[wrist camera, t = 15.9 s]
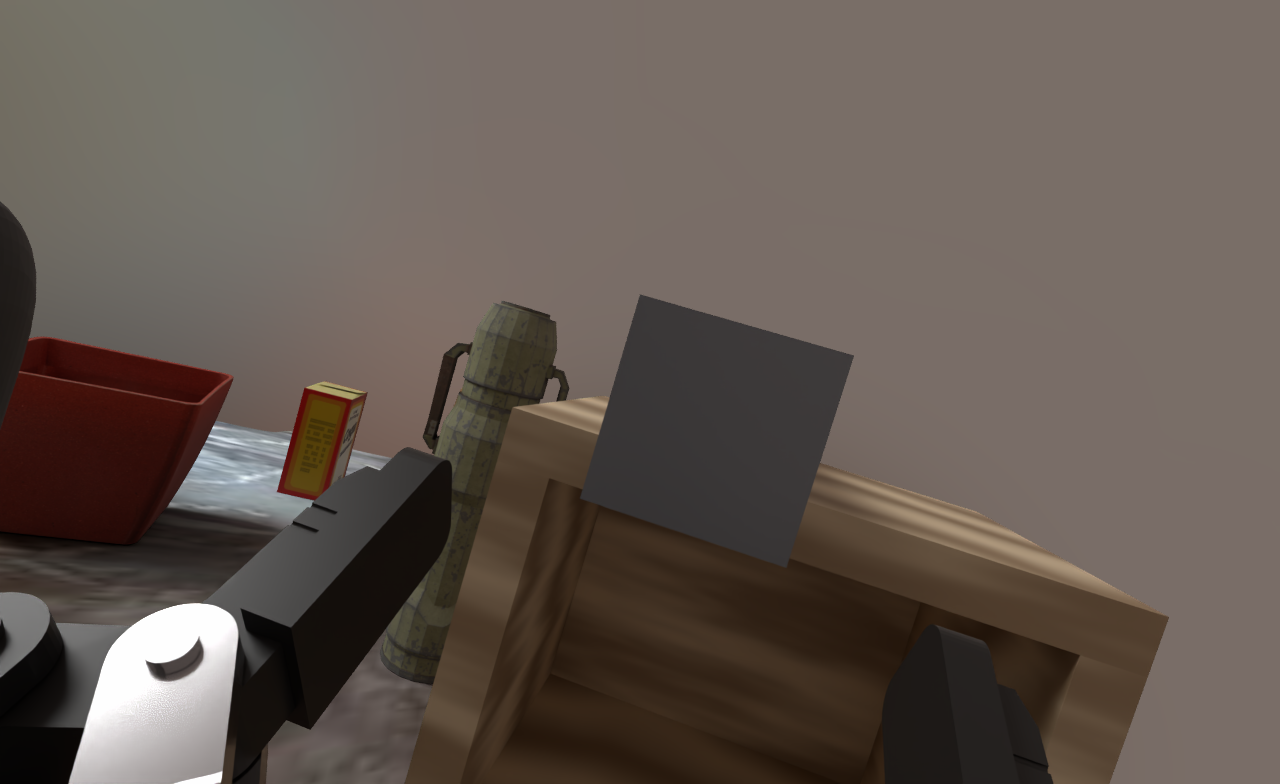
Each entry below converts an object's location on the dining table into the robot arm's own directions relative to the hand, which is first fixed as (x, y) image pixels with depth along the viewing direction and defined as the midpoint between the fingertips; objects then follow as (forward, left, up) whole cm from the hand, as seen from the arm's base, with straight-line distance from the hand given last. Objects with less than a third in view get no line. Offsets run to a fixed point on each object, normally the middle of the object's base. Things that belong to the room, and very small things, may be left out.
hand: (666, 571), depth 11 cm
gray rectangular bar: (-8, +12, 0) cm, 14 cm away
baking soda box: (-91, +32, -31) cm, 101 cm away
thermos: (-44, +27, -31) cm, 60 cm away
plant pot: (-79, +4, -31) cm, 85 cm away
